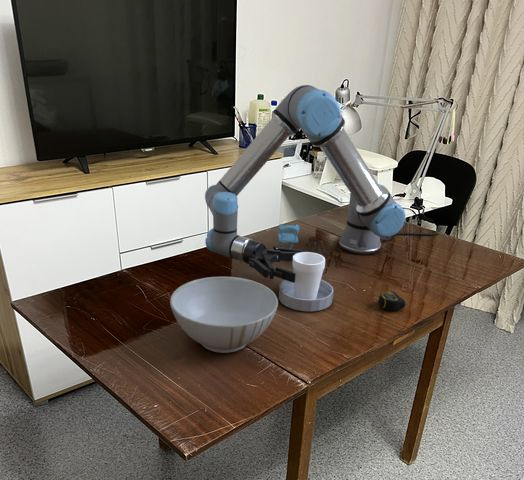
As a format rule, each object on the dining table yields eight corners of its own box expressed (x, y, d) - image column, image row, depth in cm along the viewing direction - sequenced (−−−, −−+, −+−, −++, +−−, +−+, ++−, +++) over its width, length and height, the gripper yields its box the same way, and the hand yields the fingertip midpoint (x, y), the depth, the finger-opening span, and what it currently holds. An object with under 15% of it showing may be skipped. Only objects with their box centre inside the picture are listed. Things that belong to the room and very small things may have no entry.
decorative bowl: (265, 376, 130) (268, 332, 124) (157, 361, 134) (154, 317, 127) (282, 322, 153) (285, 282, 146) (189, 310, 156) (187, 271, 150)
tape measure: (405, 311, 162) (407, 300, 159) (384, 313, 160) (386, 302, 158) (393, 300, 167) (395, 289, 165) (373, 303, 165) (375, 292, 163)
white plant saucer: (309, 284, 174) (310, 272, 172) (342, 304, 163) (344, 292, 161) (268, 295, 166) (269, 283, 164) (300, 317, 155) (301, 305, 153)
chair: (296, 251, 196) (299, 219, 190) (298, 260, 189) (301, 227, 183) (275, 250, 196) (277, 218, 190) (276, 260, 189) (278, 226, 183)
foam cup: (284, 294, 167) (287, 253, 160) (311, 289, 170) (315, 250, 163) (298, 308, 159) (302, 266, 152) (326, 303, 163) (331, 262, 156)
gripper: (271, 251, 181) (327, 269, 171) (223, 275, 163) (282, 296, 153) (272, 229, 177) (330, 246, 167) (223, 251, 159) (284, 272, 149)
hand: (307, 270), depth 160 cm, fingers open, 13 cm apart
